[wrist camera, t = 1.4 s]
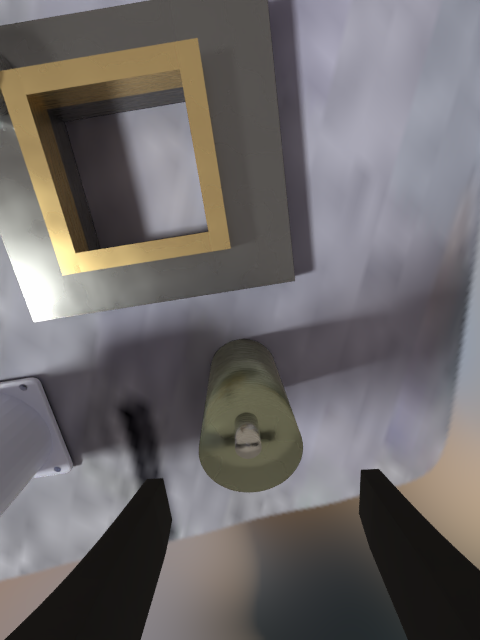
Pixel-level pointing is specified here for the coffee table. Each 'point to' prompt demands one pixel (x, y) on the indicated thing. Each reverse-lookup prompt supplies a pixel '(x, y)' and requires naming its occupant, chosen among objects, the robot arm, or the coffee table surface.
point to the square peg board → (131, 94)
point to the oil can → (248, 421)
